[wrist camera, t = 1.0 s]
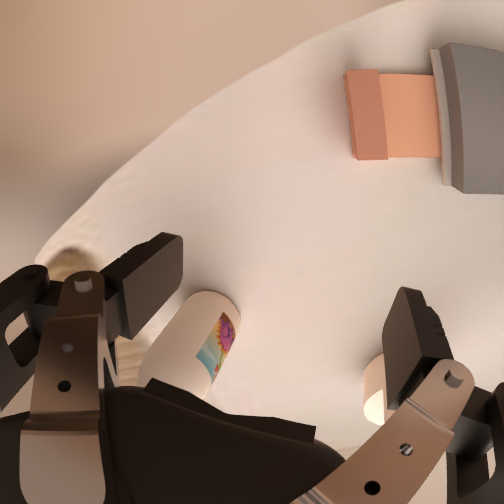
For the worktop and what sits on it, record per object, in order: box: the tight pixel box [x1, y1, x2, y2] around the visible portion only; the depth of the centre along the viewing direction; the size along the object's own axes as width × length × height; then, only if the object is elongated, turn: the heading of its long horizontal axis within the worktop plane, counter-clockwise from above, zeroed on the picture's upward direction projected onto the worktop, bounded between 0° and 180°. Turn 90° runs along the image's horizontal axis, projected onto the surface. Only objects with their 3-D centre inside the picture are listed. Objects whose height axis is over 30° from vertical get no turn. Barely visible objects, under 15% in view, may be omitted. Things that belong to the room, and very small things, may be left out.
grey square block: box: [429, 43, 504, 194], centre depth 19 cm, size 13×13×5 cm
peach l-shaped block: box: [343, 70, 442, 160], centre depth 20 cm, size 20×8×6 cm, turn 99°
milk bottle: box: [137, 291, 240, 399], centre depth 30 cm, size 8×8×20 cm
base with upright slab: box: [364, 353, 395, 425], centre depth 31 cm, size 9×9×12 cm
